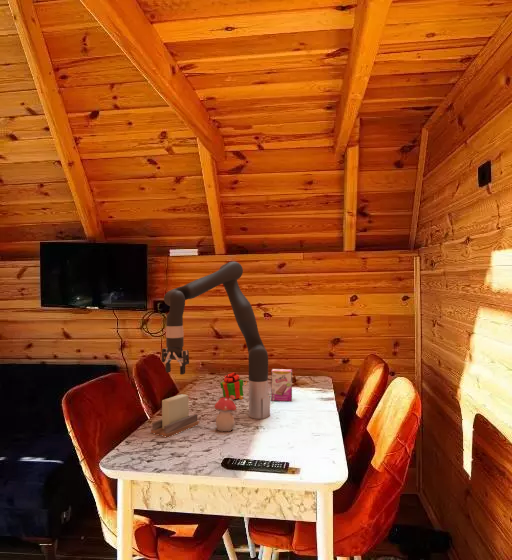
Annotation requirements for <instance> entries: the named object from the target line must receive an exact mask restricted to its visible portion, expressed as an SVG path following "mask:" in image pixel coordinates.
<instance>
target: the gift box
mask: <svg viewBox="0 0 512 560" xmlns="http://www.w3.org/2000/svg"><path fill="white" fill-rule="evenodd" d="M240 378H241V377H240V375H239V374H237V373H236V372H231V373H228V374H226V375H225V376H223V379H222V380H223V381H222V382H220V383H219V384H220V385H219V386H220V388H221V390H222V395H223V397H227V398H230V395H234V396H235V399H234V400H237V399H240V400H241V401H242V400H243V398H244V397H243V396H244V388H243V386H244V385H245V386H246V385H247V384H248V383H249V380H248V381H247V380H246V381H245V382H244V380H243V379H240ZM247 382H248V383H247ZM221 398H222V397H219V399H221Z"/></svg>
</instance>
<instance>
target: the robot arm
mask: <svg viewBox="0 0 512 560" xmlns="http://www.w3.org/2000/svg"><path fill="white" fill-rule="evenodd" d="M243 273H244V269H243V266H242V264H240V262H238V261H229V262H227V263H225V264H222V265H221V266H220V268H219V269H218V270H217V271H214V272H213V273H209V274H208V275H205V276H202V277H200V278H198V279H197V278H196V279H195V280H193V281H190V282H188V283H186V284H185V285H182V286H179V287H176V288H172V289H170V290H169V291H168V290H167V292H166V293H165V294H164V295H163V296H164V297H163V301H164V303H165V305H167V306H169V312H168V313H166V328H165V345H166V346H165V347H166V348H165V347H164V348H162V349H161V363H164V364H165V367H164V368H165V370H164V371H165V372H166V373H167V374H168V373H170V372H171V370H172V369H171V366H172V365H171V363H172V360H174V361H176V362H177V363H179V373H180V375H185V373H186V366H187V365H190V354H189V350H188V349H186V350H183V347H184V346H185V344H184V343H185V342H184V339H185V338H184V337H185V336H184V334H185V333H184V321H183V319H184V318H183V317H184V311H185V305H186V301H187V300H192V299H195V298H197V297H199V296H201V295H204V294H205V293H207V292H208V291H210V290H211V291H212V289H214V288H216V287H218V286H220V285H223V287H224V290H225V292H226V294H227V296H228V299H229V300H228V301H229V303H230V305H231V309H232V312H233V315H234V319H235V321H236V324H237V325H238V328H239V330H240V332H241V334H242V335H243V337H244V340H245V344H246V348H247V352H248V417H249V418H251V419H255V420H256V419H257V420H258V419H261V420H265V419H267V418H268V417H270V416H271V395H269V354H268V350H267V349H266V347H265V345H264V342H263V341H262V338H261V336H260V332H259V328H258V324H257V319H256V315H255V312H254V309H253V307H252V305H251V301H249V300H248V298H247V297H246V296H245V294H244V293H243V292H242V290H241V289H240V285H239V283H238V280H239V279H240V278H241V277H242V276H243Z"/></svg>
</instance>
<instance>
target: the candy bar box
mask: <svg viewBox="0 0 512 560" xmlns="http://www.w3.org/2000/svg"><path fill="white" fill-rule="evenodd" d="M270 380H271V381H270V382H271V390H270V391H271V395H270V402H292V400H293V369H283V368H281V369H280V368H272V369H271V379H270Z"/></svg>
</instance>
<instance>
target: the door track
mask: <svg viewBox="0 0 512 560" xmlns="http://www.w3.org/2000/svg"><path fill="white" fill-rule="evenodd" d="M151 424H152V425H151V429H150V434H152V433H155V434H154V435H156V434H159V435H163V436H166V437H165V438H167V437H169V436H171V437H173V436H175V435H174V434H176V433H178V434H180V433H182V432H181V431H183V432H184V430H185V431H187V430H189V429H188V428H190V429H192V428H193V426H194V427H197V426H199V425H198V424H200V421H199V420H198V414H197V413H194V414H191V415H189V416H188V417H186V418H183V419H181V420H178V421H176V422H173V423H171V424H168V425H165V426H164V429H162V418H161V419H159V420H156V421H153V422H152V423H151ZM196 425H197V426H196ZM191 427H192V428H191ZM186 429H187V430H186ZM179 432H180V433H179ZM159 435H158V436H159ZM172 435H173V436H172ZM176 435H177V434H176ZM163 436H162V437H163ZM169 438H170V437H169Z"/></svg>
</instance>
